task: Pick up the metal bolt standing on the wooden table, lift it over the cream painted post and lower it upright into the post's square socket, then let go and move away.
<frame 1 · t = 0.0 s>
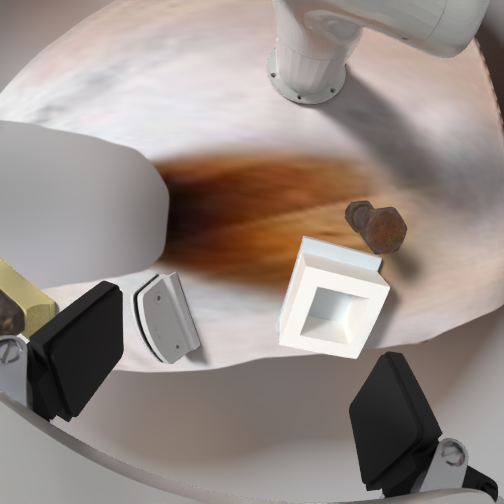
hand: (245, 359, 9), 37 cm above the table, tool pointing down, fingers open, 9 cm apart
grey arched bracket: (171, 311, 52), on the table
bolt: (353, 211, 43), on the table
socket post: (326, 293, 47), on the table
yellow and brown statue: (24, 295, 57), on the table
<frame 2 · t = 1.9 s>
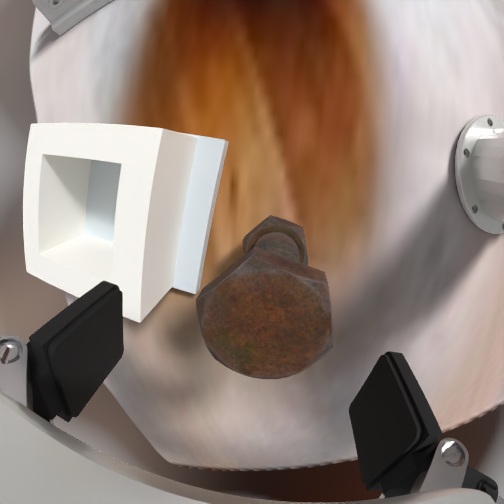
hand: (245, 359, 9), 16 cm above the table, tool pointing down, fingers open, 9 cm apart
bolt: (278, 234, 24), on the table
socket post: (127, 199, 25), on the table
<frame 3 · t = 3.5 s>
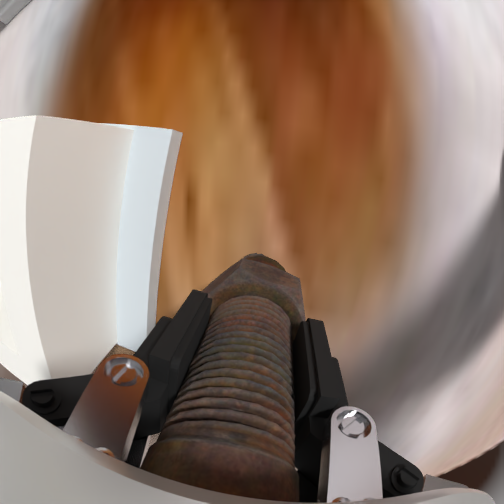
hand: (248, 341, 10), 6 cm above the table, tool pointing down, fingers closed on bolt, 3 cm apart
bolt: (260, 276, 16), on the table, touching gripper
socket post: (56, 221, 16), on the table
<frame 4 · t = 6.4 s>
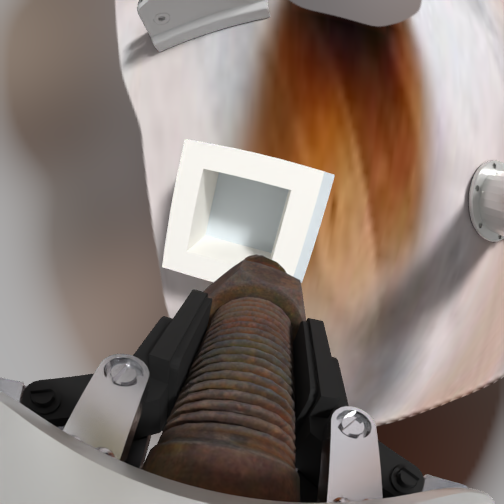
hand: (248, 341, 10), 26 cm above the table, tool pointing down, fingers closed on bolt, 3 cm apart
grey arched bracket: (207, 14, 27), on the table
bolt: (261, 277, 16), point 19 cm above the table, touching gripper
socket post: (247, 209, 34), on the table
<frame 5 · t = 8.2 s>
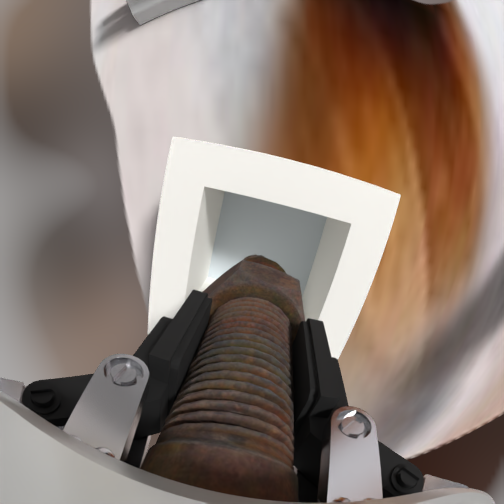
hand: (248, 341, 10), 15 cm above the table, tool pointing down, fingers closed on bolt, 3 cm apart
bolt: (260, 277, 16), point 9 cm above the table, touching gripper
socket post: (267, 238, 24), on the table
when the fingers open (10 cm above the table, at t = 9.6 s): bolt drops 2 cm, resting on socket post.
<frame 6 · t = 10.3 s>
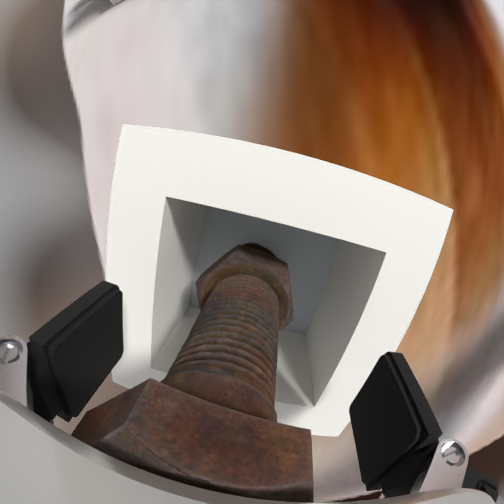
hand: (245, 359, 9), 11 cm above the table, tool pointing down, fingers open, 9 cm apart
bolt: (255, 263, 18), point 1 cm above the table, touching socket post
socket post: (263, 258, 19), on the table
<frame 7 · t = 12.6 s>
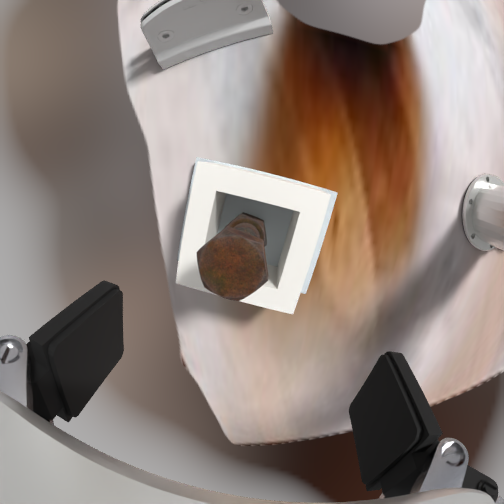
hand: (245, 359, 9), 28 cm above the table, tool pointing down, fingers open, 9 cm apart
grey arched bracket: (210, 30, 29), on the table
bolt: (249, 226, 35), point 1 cm above the table, touching socket post
socket post: (254, 225, 36), on the table
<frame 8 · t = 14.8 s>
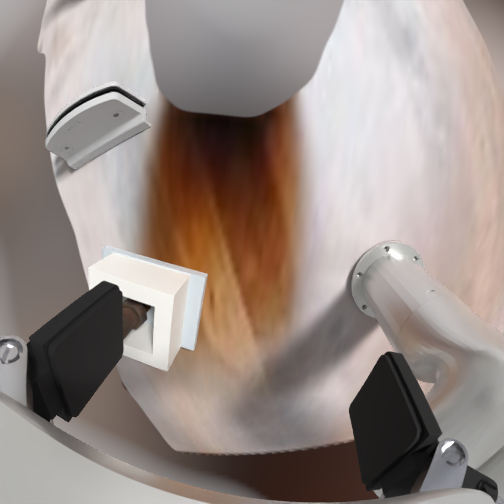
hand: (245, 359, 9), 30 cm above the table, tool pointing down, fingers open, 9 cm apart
grey arched bracket: (105, 128, 36), on the table
bolt: (144, 300, 42), point 1 cm above the table, touching socket post
socket post: (150, 297, 43), on the table
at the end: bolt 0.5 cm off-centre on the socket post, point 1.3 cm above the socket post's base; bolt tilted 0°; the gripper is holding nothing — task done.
